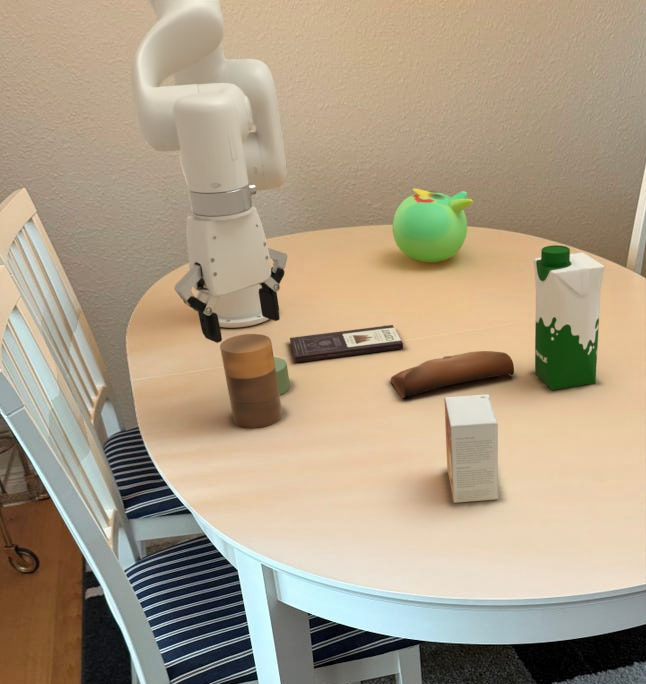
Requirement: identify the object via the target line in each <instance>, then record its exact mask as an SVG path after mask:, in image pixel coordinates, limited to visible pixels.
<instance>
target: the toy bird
mask: <svg viewBox="0 0 646 684" xmlns="http://www.w3.org/2000/svg"><path fill="white" fill-rule="evenodd" d="M412 191H413V192H414V194H411V195H409V196H408V197H406V198H405V199H404V200H403V201H402V202H401V203H400V204H399V206H398V207H397V208H396V211H395V213H394V216H393V220H392V235H393V239H394V242H395V244H396V246H397V247H398V249H399V250H400V251H401V253H403V254H404V255H405V256H407V257H408V258H410V259H412V260H415V261H418V262H422V263H438V262H439V263H440V262H443V261H446V260H448V259H450V258H452V257H454V256H455V255H456V254H457V253H458V252H459V251H460V250H461V249H462V247H463V245H464V243H465V242H466V241H465V240H466V238H467V234H468V221H467V216H466V213H465V211H464V210H465V209H467V208H468V207H470V206H471V205H472V204H473V203H474V200H473V199H472V198H467V197H468V193H467V191H465V190H463V191H460V192H458V193H456V194H455V195H453V196H450V195H448V194H445V193H442V192H438V191H435V190H425V189H420V188H412Z"/></svg>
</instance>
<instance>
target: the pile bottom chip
mask: <svg viewBox="0 0 646 684" xmlns="http://www.w3.org/2000/svg"><path fill="white" fill-rule="evenodd" d="M228 397H229V396H228ZM229 401H230V408H231V414H232V419H233V423H234V424H235V425H237V426H239V427H242V428H247V429H257V428H264V427H268V426H271V425H273V424H276V423H277V422H279V421H280V420H281V419H282V418H283V408H282V402H281V395H279V392H278V394H277V395H276V396H275V397H273V398H271V399H269V400H266V401H263V402H259V403H251V404H244V403H237V402H234V401H232V400H231V399H230V397H229Z"/></svg>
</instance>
